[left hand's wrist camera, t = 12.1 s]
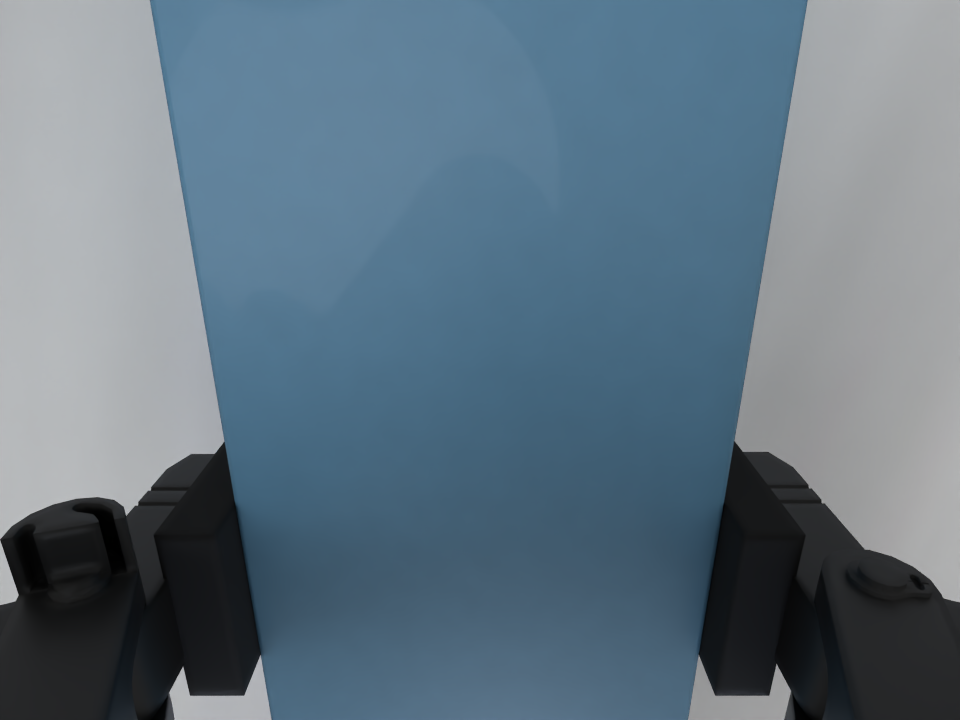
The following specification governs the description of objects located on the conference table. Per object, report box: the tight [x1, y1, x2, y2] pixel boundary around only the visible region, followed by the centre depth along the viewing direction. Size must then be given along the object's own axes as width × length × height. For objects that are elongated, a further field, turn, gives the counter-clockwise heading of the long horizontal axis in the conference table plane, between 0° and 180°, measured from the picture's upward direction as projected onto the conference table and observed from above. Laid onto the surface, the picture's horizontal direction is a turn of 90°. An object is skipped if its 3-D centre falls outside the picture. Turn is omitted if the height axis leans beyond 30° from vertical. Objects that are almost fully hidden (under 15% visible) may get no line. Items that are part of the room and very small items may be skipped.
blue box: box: [150, 0, 807, 720], centre depth 12 cm, size 16×7×9 cm, turn 0°
